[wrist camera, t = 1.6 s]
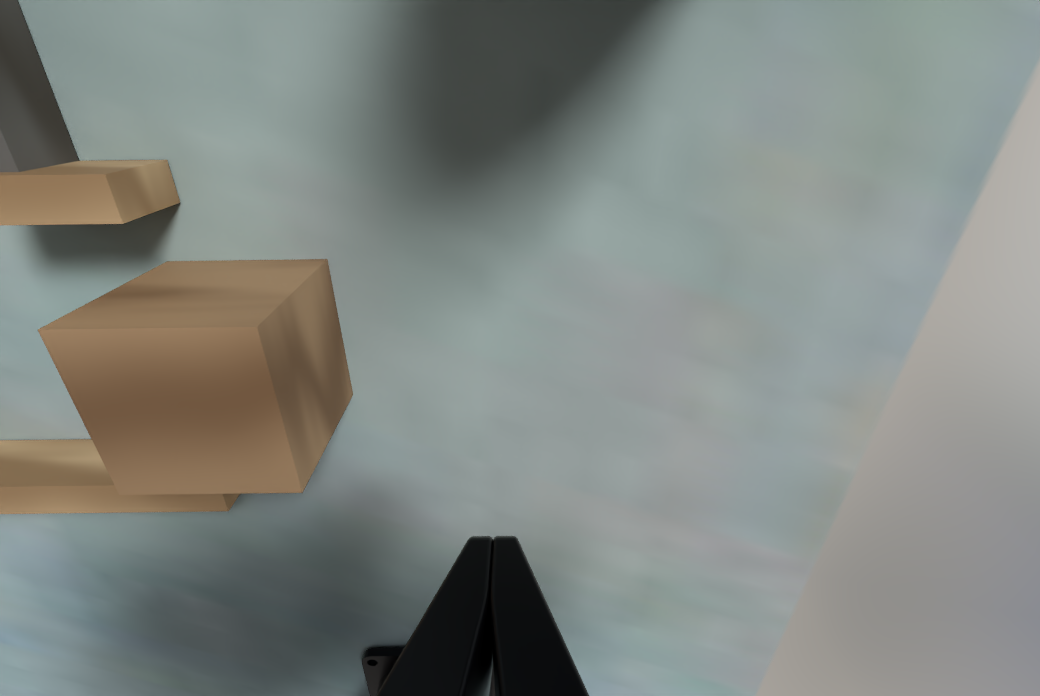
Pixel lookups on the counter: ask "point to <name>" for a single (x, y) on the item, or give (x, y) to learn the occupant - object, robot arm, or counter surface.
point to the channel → (56, 201)
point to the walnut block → (208, 375)
